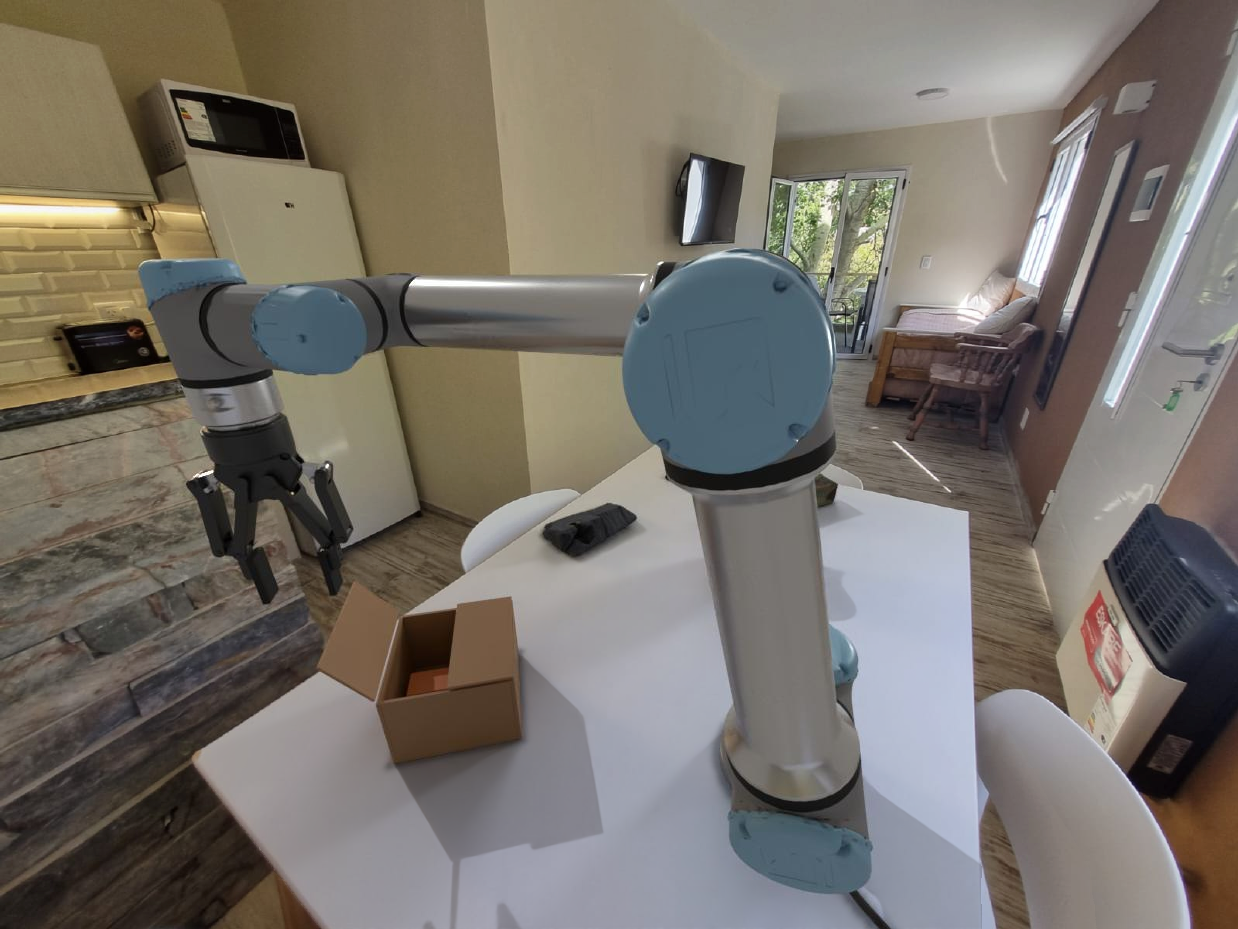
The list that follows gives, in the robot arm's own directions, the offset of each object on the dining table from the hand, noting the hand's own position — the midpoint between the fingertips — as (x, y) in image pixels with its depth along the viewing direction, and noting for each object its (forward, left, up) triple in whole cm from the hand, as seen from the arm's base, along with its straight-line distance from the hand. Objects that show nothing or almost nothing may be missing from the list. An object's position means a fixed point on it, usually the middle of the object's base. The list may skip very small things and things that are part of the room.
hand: (304, 592), depth 60 cm
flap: (0, -5, -8) cm, 10 cm away
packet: (0, -13, -24) cm, 27 cm away
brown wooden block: (+44, -99, -24) cm, 111 cm away
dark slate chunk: (+43, -43, -24) cm, 65 cm away
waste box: (0, -16, -24) cm, 29 cm away
